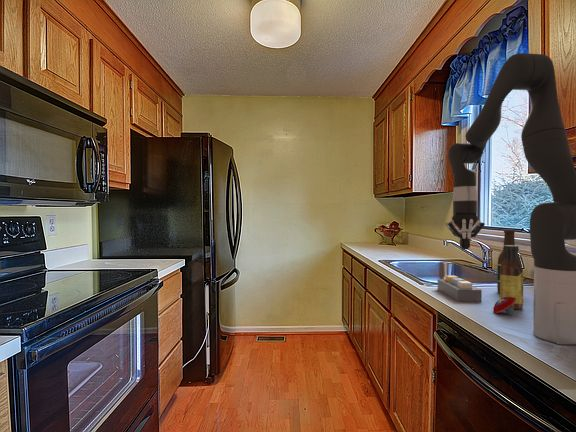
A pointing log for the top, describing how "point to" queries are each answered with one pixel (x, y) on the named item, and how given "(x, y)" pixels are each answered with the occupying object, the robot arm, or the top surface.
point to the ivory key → (464, 285)
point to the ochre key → (448, 278)
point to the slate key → (456, 280)
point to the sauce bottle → (511, 276)
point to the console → (459, 291)
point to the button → (504, 305)
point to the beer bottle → (507, 241)
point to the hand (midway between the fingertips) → (465, 249)
